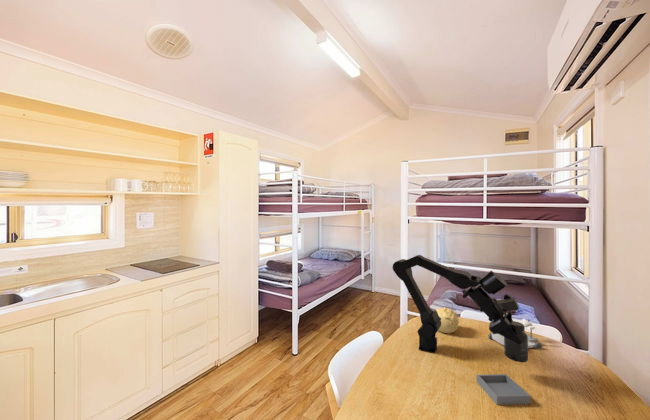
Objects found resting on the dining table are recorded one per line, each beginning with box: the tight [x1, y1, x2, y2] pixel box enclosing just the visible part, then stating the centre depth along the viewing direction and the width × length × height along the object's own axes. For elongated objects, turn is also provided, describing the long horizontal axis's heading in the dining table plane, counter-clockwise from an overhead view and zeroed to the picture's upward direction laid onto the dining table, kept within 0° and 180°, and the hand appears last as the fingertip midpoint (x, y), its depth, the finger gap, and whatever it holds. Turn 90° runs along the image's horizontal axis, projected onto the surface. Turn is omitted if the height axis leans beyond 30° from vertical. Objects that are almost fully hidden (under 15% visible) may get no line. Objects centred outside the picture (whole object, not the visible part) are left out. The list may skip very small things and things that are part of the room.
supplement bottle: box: [503, 320, 529, 363], centre depth 91 cm, size 7×7×12 cm
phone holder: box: [487, 318, 543, 350], centre depth 112 cm, size 18×10×12 cm
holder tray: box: [476, 373, 531, 406], centre depth 83 cm, size 10×10×2 cm
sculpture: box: [435, 306, 459, 334], centre depth 125 cm, size 12×12×11 cm
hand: (520, 339), depth 90 cm, fingers closed on supplement bottle, 7 cm apart
